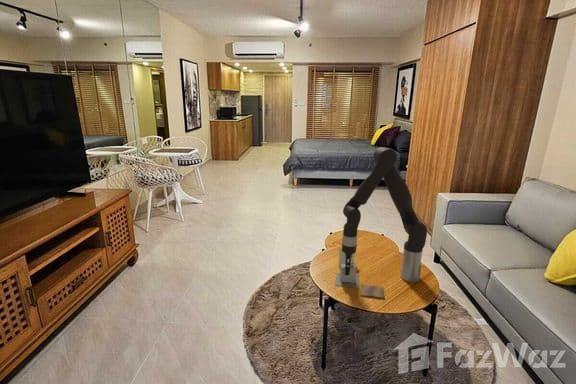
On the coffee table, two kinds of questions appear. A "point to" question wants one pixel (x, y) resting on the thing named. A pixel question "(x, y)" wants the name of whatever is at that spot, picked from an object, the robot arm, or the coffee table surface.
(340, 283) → the tile
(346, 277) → the medicine box
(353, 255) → the photo printer
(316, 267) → the coffee table surface
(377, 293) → the walnut mat
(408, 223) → the robot arm
